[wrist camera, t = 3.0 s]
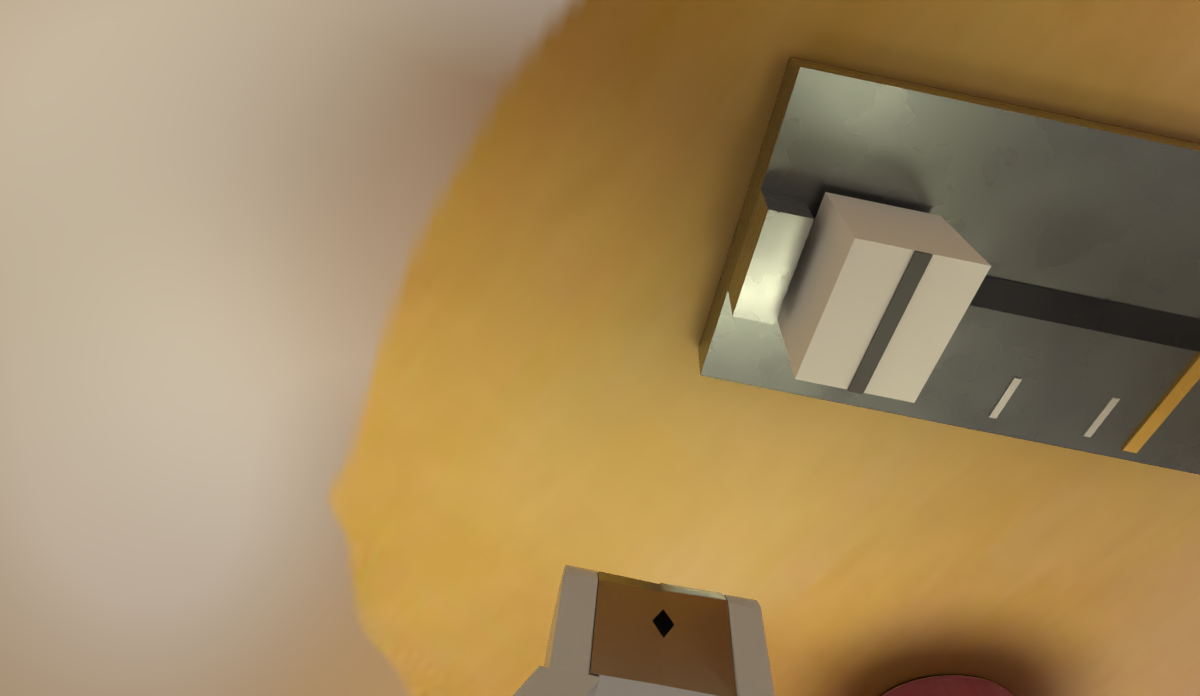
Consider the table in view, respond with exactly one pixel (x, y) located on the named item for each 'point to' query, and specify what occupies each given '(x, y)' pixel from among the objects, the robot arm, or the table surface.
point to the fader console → (991, 260)
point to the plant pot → (949, 687)
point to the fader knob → (876, 297)
